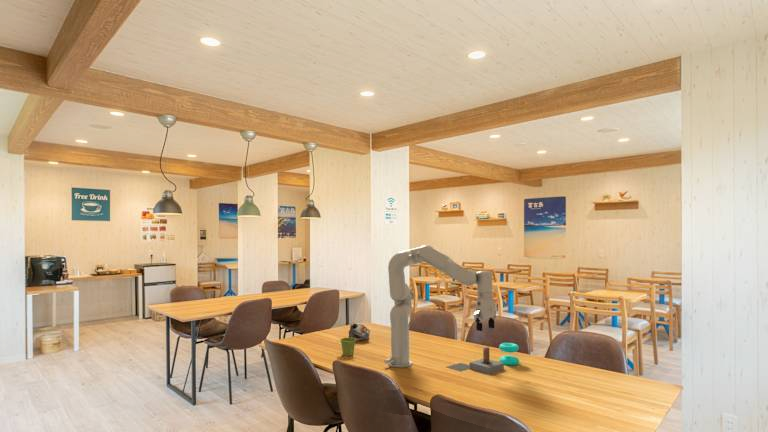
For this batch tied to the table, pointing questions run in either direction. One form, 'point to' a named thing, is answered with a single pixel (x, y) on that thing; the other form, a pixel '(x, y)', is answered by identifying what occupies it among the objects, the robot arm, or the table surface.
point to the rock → (358, 331)
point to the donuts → (509, 359)
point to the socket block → (486, 366)
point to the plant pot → (348, 346)
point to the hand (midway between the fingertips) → (485, 329)
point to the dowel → (486, 355)
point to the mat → (459, 367)
